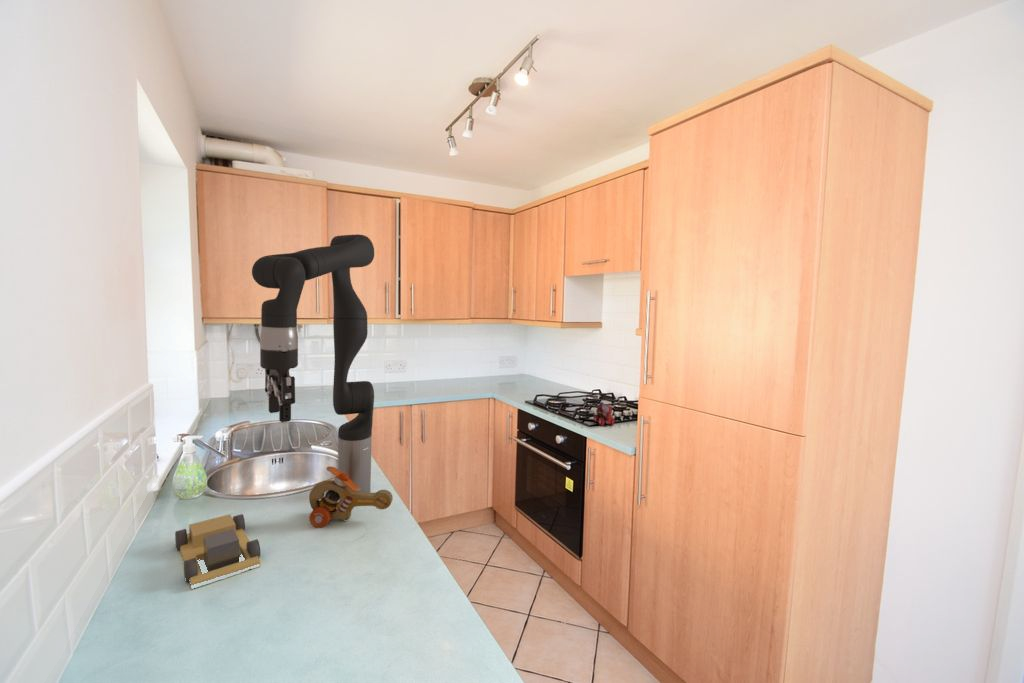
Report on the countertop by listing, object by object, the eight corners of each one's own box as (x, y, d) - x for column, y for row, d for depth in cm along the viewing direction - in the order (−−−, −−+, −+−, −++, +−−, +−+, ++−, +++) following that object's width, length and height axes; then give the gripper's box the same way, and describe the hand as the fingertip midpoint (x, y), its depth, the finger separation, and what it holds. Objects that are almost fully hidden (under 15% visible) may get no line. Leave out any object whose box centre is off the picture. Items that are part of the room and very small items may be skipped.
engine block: (204, 561, 95) (203, 536, 94) (233, 552, 98) (233, 528, 98) (208, 574, 91) (207, 548, 90) (239, 564, 94) (238, 539, 94)
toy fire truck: (603, 420, 224) (605, 399, 223) (615, 427, 212) (617, 406, 211) (591, 420, 222) (592, 400, 221) (602, 427, 210) (604, 406, 209)
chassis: (174, 543, 101) (174, 524, 101) (240, 525, 110) (240, 507, 109) (188, 591, 86) (187, 569, 85) (262, 566, 95) (262, 546, 94)
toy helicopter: (315, 512, 118) (315, 462, 117) (394, 512, 120) (395, 464, 119) (303, 528, 110) (304, 475, 109) (388, 528, 112) (390, 476, 111)
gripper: (252, 343, 102) (253, 411, 104) (269, 351, 92) (270, 427, 93) (287, 342, 107) (287, 407, 109) (307, 349, 97) (307, 422, 98)
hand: (279, 416), depth 101 cm, fingers open, 8 cm apart
